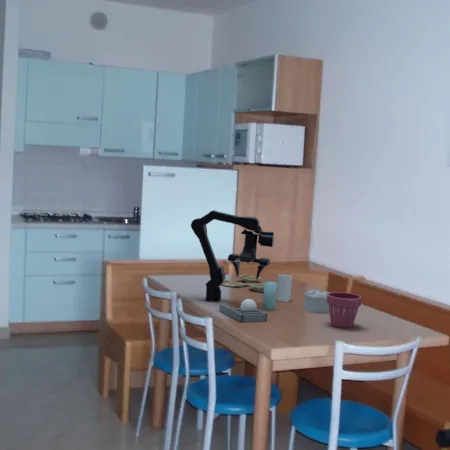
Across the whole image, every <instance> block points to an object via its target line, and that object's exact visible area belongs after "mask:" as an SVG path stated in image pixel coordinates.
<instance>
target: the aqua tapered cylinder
mask: <svg viewBox="0 0 450 450" xmlns="http://www.w3.org/2000/svg"><path fill="white" fill-rule="evenodd" d="M263 283H264V292H263V297H262V309H263V311H264V310H266V311H275V310H276V303H277V283H278V282H276V281H270V280H269V281H268V280H267V281H263Z"/></svg>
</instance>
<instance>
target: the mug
mask: <svg viewBox="0 0 450 450" xmlns="http://www.w3.org/2000/svg"><path fill="white" fill-rule="evenodd" d="M277 283H278V289H276V301H278V302H282V303H289V302H291V294H292V285H293V284H292V283H293V276H292V275H290V274H278V276H277Z"/></svg>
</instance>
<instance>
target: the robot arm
mask: <svg viewBox="0 0 450 450" xmlns="http://www.w3.org/2000/svg"><path fill="white" fill-rule="evenodd" d="M214 220H215V221H220V222H224V223H230V224H233V225H238V226H240V227H242V228H243V231H241V233H240V234H241V235H244V242H243V243H244V245H243V247H242V251H241V252H240V254H237V253H229V255H228V256H227V261H228V262H230V264H232V265H233V266H234V269H235V274H236V278H239V277H238V276H240V263H247V264H250V263H254V264H255V263H256V264H259V265H257V272H256V280H258V278H259V277H260V275H261V273H262V272H263V270H264V268H266V267H268V266H270V265H271V259H270V258H267V257H261V258H257V249H258V244H259V246H260V247H269V248H273V247H274V243H275V238H274V237H275V236H274V235H275V234H274V233H275V232H273V231H264V230H263V229H262V227H261V225H260V221H259V219H258V218H257V216H256V217H255V216H239V215H235V214H231V213H227V212H222V211H218V210H216V209H215V210H212V211H211V210H210V211H209V212H208V213H207V214H205V215H204V216H201V217H198V218H195V219H192V221H191V224H190V228H191V230H192V231H193V234H194V235H195V236H196V237H197V239H198V241H199V243H200V246H201V249H202V251H203V254H204V256H205V259H206V262H207V265H208V269H209V278H210V279H209V280H208V281H207V282H206V283H205V286H206V287H205V288H206V289H205V291H206V292H205V299H206V300H205V302H216V303H217V302H218V303H219V302H221V300H222V290H221V287H220V286H221V284H222V283H223V282H224V280H226V275H227V273H226V272H225V268H224V266H223V265H222V266H221V265H219V263H218V260H217V258H216V256H215V253H214V249H213V248H212V244H211V242H210V239H209V236H208V229H207V225H208V224H210V223H211V222H212V221H214ZM258 281H259V280H258Z"/></svg>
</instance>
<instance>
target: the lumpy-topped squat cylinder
mask: <svg viewBox="0 0 450 450" xmlns="http://www.w3.org/2000/svg"><path fill="white" fill-rule="evenodd" d="M327 294H328V292H327V291H322V292H321V291H320V290H319V289H315V290H314V289H311V290H308V291H306V292H305V293H304V304H303V309H304V310H305V311H307V312H309V313H313V314H329V313H328V312H329V304H328V303H327Z"/></svg>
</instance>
